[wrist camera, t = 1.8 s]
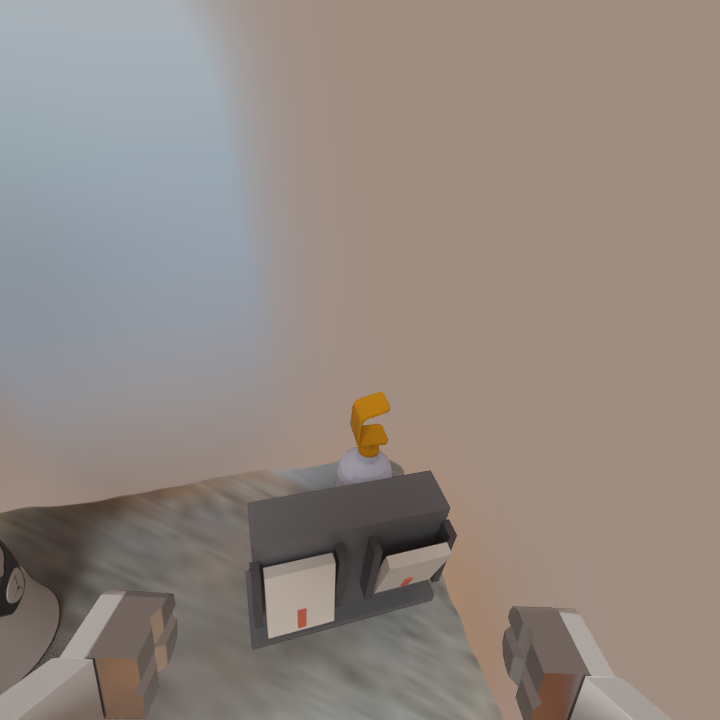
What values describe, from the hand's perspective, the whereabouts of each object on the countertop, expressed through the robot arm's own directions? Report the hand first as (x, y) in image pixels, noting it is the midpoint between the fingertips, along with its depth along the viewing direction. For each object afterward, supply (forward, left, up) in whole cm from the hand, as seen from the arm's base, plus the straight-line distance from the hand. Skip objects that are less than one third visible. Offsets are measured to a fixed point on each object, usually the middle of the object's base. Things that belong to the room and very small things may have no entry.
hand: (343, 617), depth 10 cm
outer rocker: (+17, +21, -46) cm, 53 cm away
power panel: (+10, +25, -53) cm, 60 cm away
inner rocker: (+3, +19, -46) cm, 50 cm away
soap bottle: (+17, +38, -53) cm, 68 cm away
